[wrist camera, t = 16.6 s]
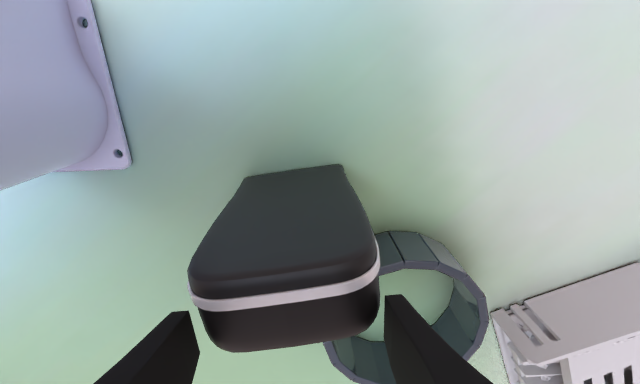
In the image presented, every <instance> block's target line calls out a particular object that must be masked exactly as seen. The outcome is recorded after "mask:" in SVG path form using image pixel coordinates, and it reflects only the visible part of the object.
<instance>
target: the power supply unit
mask: <svg viewBox="0 0 640 384" xmlns="http://www.w3.org/2000/svg"><path fill="white" fill-rule="evenodd" d="M490 314H491V317H492V321H493V325H494V328H495V332H496V335H497V339H498V343H499V346H500V350H501V353H502V357H503V360H504V364H505V368H506V371H507V375H508V378H509V382H510V384H640V263H633V264H630V265H627V266H625V267H622V268H619V269H616V270H613V271H610V272H607V273H604V274H601V275H598V276H595V277H592V278H590V279H587V280H584V281H581V282H578V283H575V284H572V285H569V286H566V287H563V288H560V289H557V290H555V291H552V292H549V293H546V294H543V295H540V296H537V297H534V298H531V299H528V300H525V301H524V305H521V306H518V305H517V304H515V305H512V306H510V310H507V311H504V309H500V310H497V311H494V312H491V313H490Z"/></svg>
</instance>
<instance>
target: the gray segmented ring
mask: <svg viewBox="0 0 640 384" xmlns="http://www.w3.org/2000/svg"><path fill="white" fill-rule="evenodd" d="M374 236H375V238H376V241H377V244H378V248H379V256H380V268H379V272H378V276H381V275H384V274H388V273H391V272H394V271H398V270H401V269H429V270H437V271H440V272H442V273H444V274H446V275H449V276H451V277H453V280H454V285H455V286H454V290H453V293H452V297H451V300H450V304H449V307H448V308H447V309H446V310H445V312H444V313H443V314H442V316H441V317H440V318H439V319H438V321H437V322H436V323H435V324H434V325H432V326H431V327H432V328H433V329H434V330H435V331H436V332H437V333H438V334H439V335H440V336H441V337H442V338H443V339H444V340H445V341H446V342H447V343H448V344H449V345H450V346H451V347H452V348H453V349H454V350H455V351H456V352H457V353H458V354H459V355H460V356H461V357H463V358H464V359H465V360H466V361H468V360H469V359H470V358H471V356H472V355H473V354H474V353H475V352H476V351H477V350H478V348H479V347H480V346H479V345H481V344H482V341H483V338H484V335H485V333H486V330H487V327H488V324H489V316H488V310H487V303H486V297H485V295H484V293H483V292H482V291H481V290H480V288H479V287H478V286H477V285H476V283H475V282H474V281H473V280H472V279H471V277H470V276H469V275H468V274H467V272H466V271H465V270H464V269H463V268H462V266H461V265H460V264H459V263H458V262H457V260H456V259H455V258H454V257H453V256H452V254H451V253H450V252H449V251H448V250H447V248H446V247H445V246H444V245H442V243H440V242H438V241H435V240H433V239H431V238H429V237H427V236H425V235H422V234H420V233H417V232H399V231H389V233H388V232H383V233H380V234H377V235H374ZM323 345H324V347H325V349H326V352H327V354H328V356H329V359H330V361H331V363H332V364H333V366H334V367H336V368H337V369H338V370H339V371H340V372H342V373H343V374H344V375H345V376H346V377H348V378H349V379H350V380H352V381H353V382H356V383H359V384H396V381H395V378H394V375H393V372H392V369H391V366H390V362H389V358H388V354H387V349H386V345H385V342H370V341H367V340H364V339H362V338H359V337H356V336H352V337H348V338H344V339H338V340H332V341H326V342H323Z"/></svg>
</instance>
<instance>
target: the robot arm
mask: <svg viewBox="0 0 640 384" xmlns="http://www.w3.org/2000/svg"><path fill="white" fill-rule="evenodd" d="M83 19H86V20H87V22H88V26H87V28H85V27H84V26H83V22H82V21H83ZM117 150H120V151H121V152H122V156H120V155H119V154H118V153H117ZM131 163H132V160H131V156H130V152H129V148H128V144H127V140H126V136H125V132H124V129H123V125H122V121H121V117H120V113H119V109H118V105H117V101H116V97H115V93H114V89H113V86H112V82H111V78H110V74H109V70H108V66H107V62H106V58H105V54H104V50H103V47H102V43H101V39H100V35H99V31H98V27H97V23H96V19H95V15H94V11H93V7H92V4H91V1H90V0H0V190H3V189H6V188H9V187H11V186H14V185H17V184H20V183H23V182H25V181H28V180H31V179H34V178H36V177H39V176H42V175H45V174H47V173H50V172H65V171H91V170H117V169H126V168H128V167H129V166H131ZM384 341H385V345H386V349H387V354H388V358H389V362H390V366H391V369H392V372H393V375H394V378H395V381H396V384H493V383H492V382H491V381H489V380H488V379H487V378H486V377H484V376H483V375H482V374H481V373H480V372H478V371H477V370H476V369H475V368H474V367H473V366H471V365H470V364H469V363H468V362H467V361H466V360H465V359H464V358H463V357H461V356H460V355H459V354H458V353H457V352H456V351H455V350H454V349H453V348H452V347H451V346H450V345H449V344H448V343H447V342H446V341H445V340H444V339H443V338H442V337H441V336H440V335H439V334H438V333H437V332H436V331H435V330H434V329H433V328H432V327H431V326H430V325H429V324H428V323H427V322H426V321H425V320H424V319H423V318H422V317H421V315H420V314H419V313H418V312H417V311H416V310H415V309H414V308H413V307H412V305H411V304H410V303H409V302H408V301H407V300H406V298H405V297H404V296H403V295H401V294H399V295H386V296H385V311H384ZM199 355H200V351H199V347H198V344H197V340H196V336H195V332H194V329H193V325H192V321H191V317H190V314H189V311H178V312H171V313H170V314H169V315H168V316H167V317H166V318H165V319H164V320H163V321H161V322H160V323H159V324H158V325H157V326H156V327H155V328H154V329H153V330H152V331H151V332H150V333H149V334H148V335H147V336H146V337H145V338H144V339H143V340H142V341H140V342H139V343H138V344H137V345H136V346H135V347H134V348H133V349H132V350H131V351H130V352H129V353H128V354H127V355H125V356H124V357H123V358H122V359H121V360H120V361H119V362H118V363H117V364H116V365H114V366H113V367H112V368H111V369H110V370H109V371H108V372H106V373H105V374H104V375H103V376H102V377H101V378H100V379H98V380H97V381H96V382H95V383H94V384H192V381H193V378H194V374H195V370H196V367H197V363H198V359H199Z"/></svg>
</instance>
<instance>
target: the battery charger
mask: <svg viewBox="0 0 640 384" xmlns="http://www.w3.org/2000/svg"><path fill="white" fill-rule="evenodd" d="M379 268H380V256H379V248H378V244H377V241H376V238H375V236H374V233H373V230H372V228H371V225H370V222H369V220H368V217H367V215H366V212H365V210H364V208H363V206H362V204H361V202H360V200H359V198H358V196H357V195H356V193H355V191H354V190H353V188H352V186H351V185H350V183H349V181H348V179H347V177H346V174H345V172H344V168H343V166H342V165H340V164H335V165H328V166H320V167H313V168H306V169H299V170H292V171H285V172H278V173H271V174H265V175H258V176H251V177H247V178H245V179H244V180H243V181H242V183H241V185H240V187H239V188H238V190H237V192H236V193H235V195H234V196H233V197H232V199H231V200H230V201H229V203H228V204H227V205H226V207H225V208H224V209H223V211H222V212H221V213H220V215H219V216H218V217H217V219H216V220H215V222H214V223H213V224H212V226H211V227H210V229H209V230H208V232H207V234H206V235H205V237H204V238H203V240H202V242H201V243H200V245H199V247H198V248H197V250H196V252H195V254H194V255H193V257H192V259H191V262H190V264H189V267H188V270H187V272H188V279H189V281H188V291H189V293H190V296H191V299H192V302H193V303H194V305H195V306H197V307H198V310H199V313H200V316H201V319H202V321H203V324H204V327H205V330H206V332H207V334H208V336H209V338H210V340H211V341H212V342H213V343H214V344H215V345H216V346H217V347H219V348H221V349H222V350H226V351H229V352H252V351H261V350H269V349H278V348H286V347H294V346H301V345H307V344H313V343H320V342H326V341H332V340H338V339H344V338H348V337H352V336H355V335H358V334H360V333H361V332H363V331H365V330H367V329H368V328H369V326H370V325H371V324H372V323H373V322H374V320H375V318H376V316H377V313H378V310H379V306H380V289H379V277H378V272H379Z"/></svg>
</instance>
